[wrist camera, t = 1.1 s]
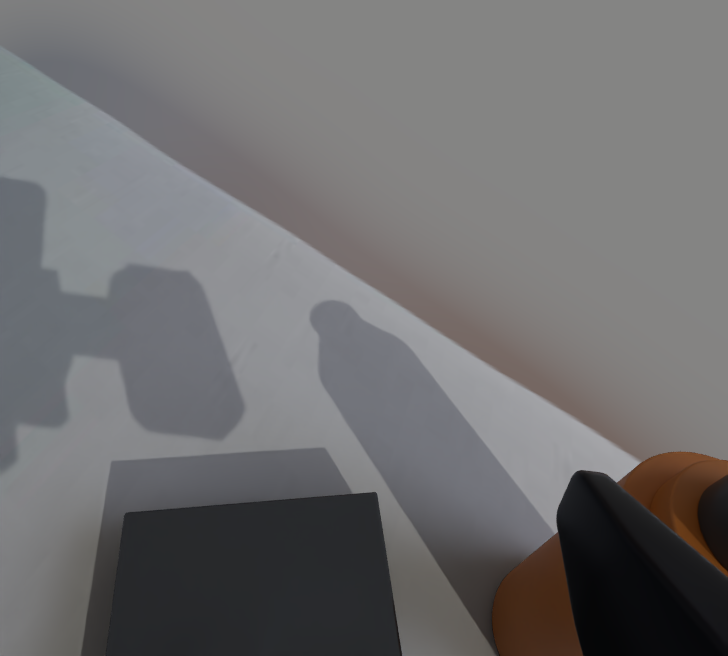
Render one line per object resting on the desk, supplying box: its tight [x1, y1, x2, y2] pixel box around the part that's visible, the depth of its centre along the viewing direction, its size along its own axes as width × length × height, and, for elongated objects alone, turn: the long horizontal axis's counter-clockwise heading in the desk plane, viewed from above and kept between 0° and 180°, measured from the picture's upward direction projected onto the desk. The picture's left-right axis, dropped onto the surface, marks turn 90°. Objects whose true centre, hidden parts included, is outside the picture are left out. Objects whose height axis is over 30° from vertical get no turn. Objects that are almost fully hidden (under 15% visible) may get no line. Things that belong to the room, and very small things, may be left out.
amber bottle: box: [492, 452, 728, 656], centre depth 16 cm, size 5×5×13 cm
